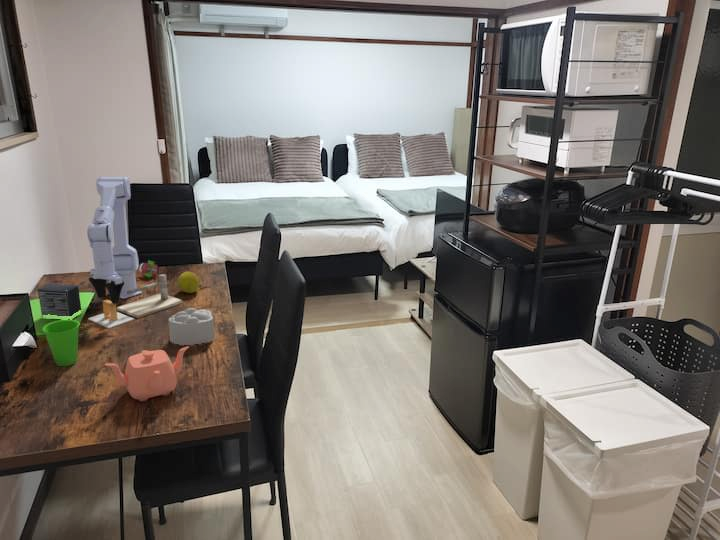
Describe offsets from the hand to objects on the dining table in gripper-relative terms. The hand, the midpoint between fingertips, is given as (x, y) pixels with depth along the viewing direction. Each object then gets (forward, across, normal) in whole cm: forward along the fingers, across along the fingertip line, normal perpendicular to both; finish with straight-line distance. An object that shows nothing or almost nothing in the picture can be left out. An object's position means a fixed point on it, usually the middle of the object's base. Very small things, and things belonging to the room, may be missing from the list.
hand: (108, 299), depth 172 cm
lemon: (+7, -1, +33) cm, 34 cm away
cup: (+7, +17, -24) cm, 30 cm away
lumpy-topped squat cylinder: (+7, +32, +7) cm, 34 cm away
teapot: (+7, +50, -20) cm, 54 cm away
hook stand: (+7, 0, +15) cm, 17 cm away
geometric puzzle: (+8, -28, +35) cm, 45 cm away
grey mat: (+7, 0, 0) cm, 7 cm away
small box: (+7, -15, -8) cm, 18 cm away
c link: (+7, 0, 0) cm, 7 cm away
